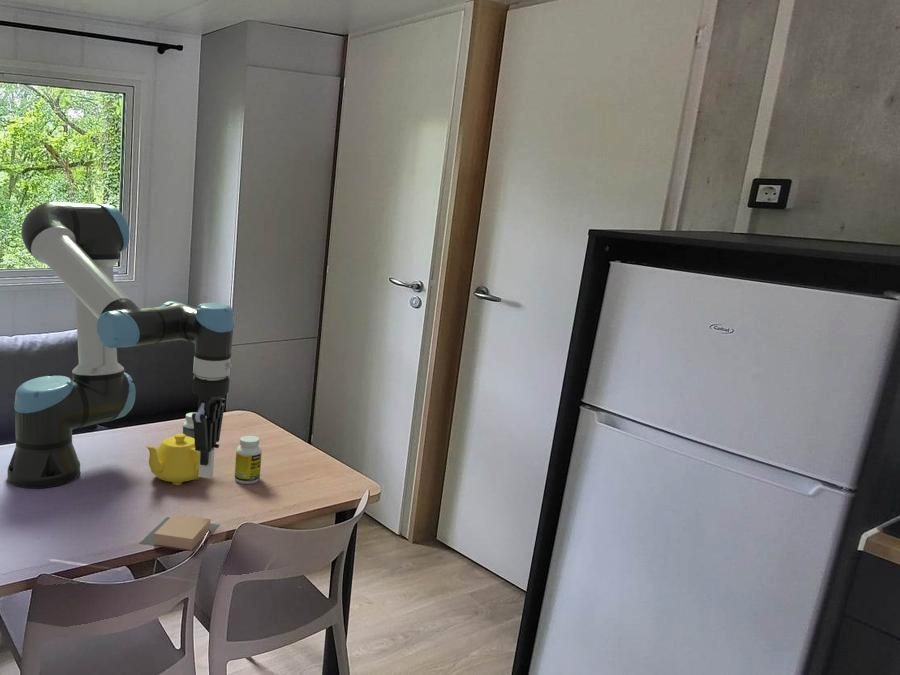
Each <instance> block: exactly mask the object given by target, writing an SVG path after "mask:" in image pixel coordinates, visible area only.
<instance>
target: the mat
mask: <svg viewBox="0 0 900 675" xmlns="http://www.w3.org/2000/svg"><path fill="white" fill-rule="evenodd" d="M170 518H171V517H169V516H168V517H167V516H166V517H165V518H164V519H163V520H162V521H161V522H160V523H159V524H158V525H157V526H155V527H154V529H153V530H151V531H150V532H149V534H147V535H146V536H145V537H144V538H143V539H142V540H141V541H140V542H139V544H140V545H147V546H148V545H149V546H155V547H161V548H168V549H173V550H181V551H188V552H193V553H196V552H195V551H196V549H197V548H198V547H199V545H200V544H201V542H202V539H203V538H202V539H201V540H200V541H199V543H198V544H197V545H196V546H195V547H194V548H193V549H192V550H189V549H183V548H176V547H169V546H162V545H155V544H154V533H155V532H156V531H157V530H158V529H159V528H160V527H161V526H162V525H163V524H165V523H166V522H167V521H168V520H169V519H170ZM219 526H220V524H217V523H211V522H210V530H209V533H210V534H209V538H210V537H211V536H212V534H214V533H215V531H216V530H217V529H218V528H219Z"/></svg>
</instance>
